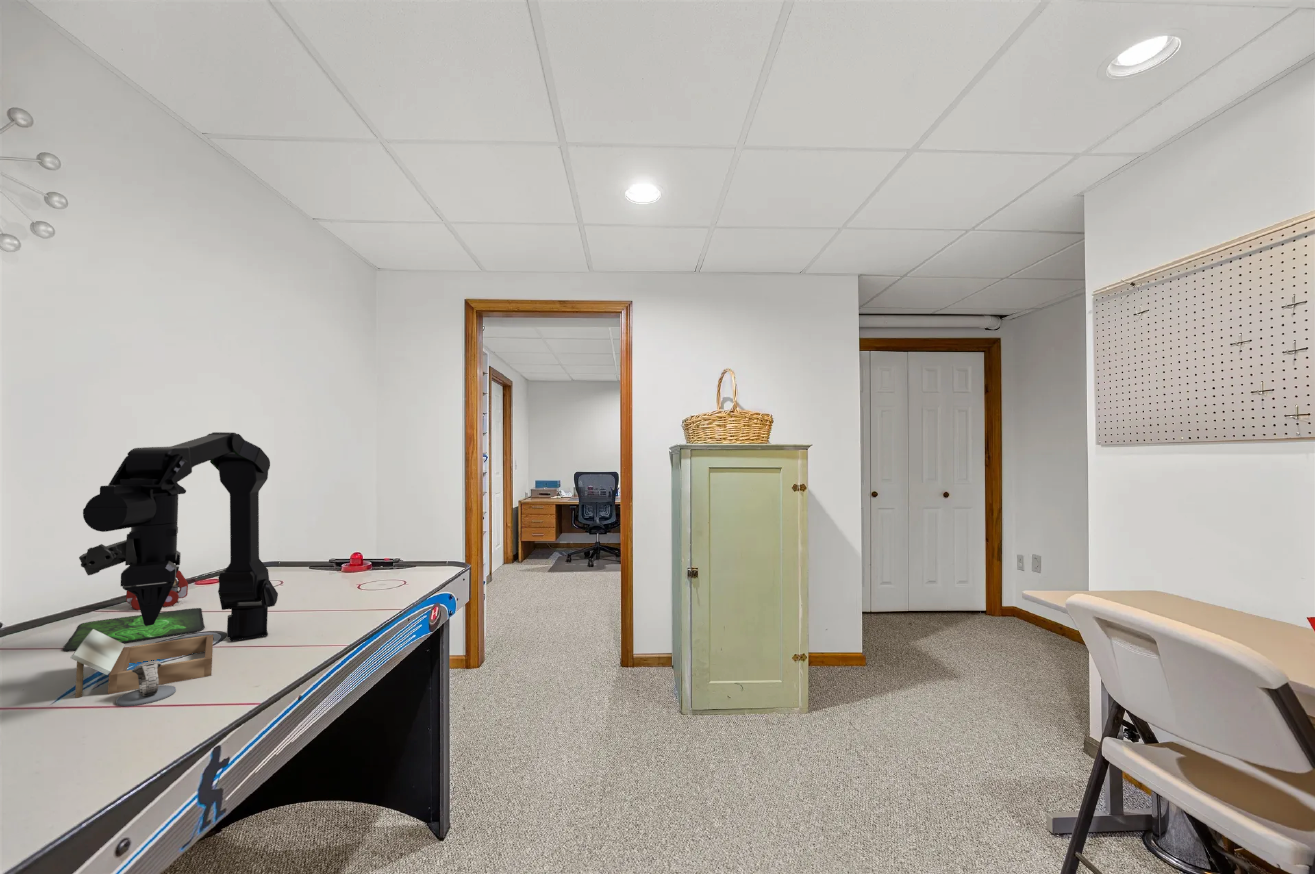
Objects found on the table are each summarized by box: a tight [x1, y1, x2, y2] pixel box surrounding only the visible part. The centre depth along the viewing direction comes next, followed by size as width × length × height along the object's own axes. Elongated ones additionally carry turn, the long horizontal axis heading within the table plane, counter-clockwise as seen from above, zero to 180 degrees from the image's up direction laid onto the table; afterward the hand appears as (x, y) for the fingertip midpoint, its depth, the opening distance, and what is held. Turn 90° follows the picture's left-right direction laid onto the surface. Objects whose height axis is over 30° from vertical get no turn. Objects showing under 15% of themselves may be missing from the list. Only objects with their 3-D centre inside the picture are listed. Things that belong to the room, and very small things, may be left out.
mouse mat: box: [62, 607, 206, 652], centre depth 126 cm, size 27×22×1 cm
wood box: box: [70, 629, 214, 699], centre depth 99 cm, size 18×17×7 cm
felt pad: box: [115, 684, 177, 707], centre depth 89 cm, size 7×7×1 cm
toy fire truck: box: [125, 569, 189, 611], centre depth 145 cm, size 7×12×10 cm, turn 130°
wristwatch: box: [131, 660, 162, 697], centre depth 89 cm, size 4×6×5 cm, turn 51°
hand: (151, 618), depth 92 cm, fingers open, 9 cm apart
